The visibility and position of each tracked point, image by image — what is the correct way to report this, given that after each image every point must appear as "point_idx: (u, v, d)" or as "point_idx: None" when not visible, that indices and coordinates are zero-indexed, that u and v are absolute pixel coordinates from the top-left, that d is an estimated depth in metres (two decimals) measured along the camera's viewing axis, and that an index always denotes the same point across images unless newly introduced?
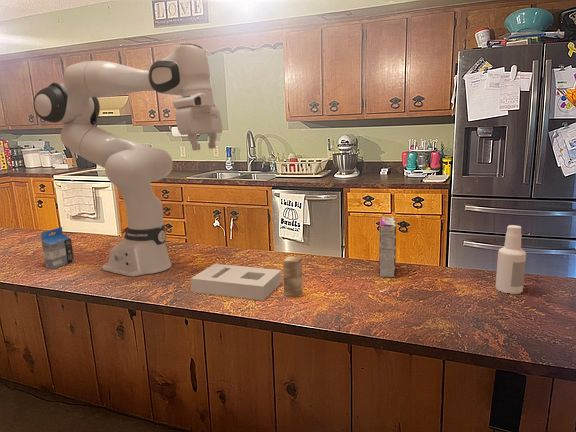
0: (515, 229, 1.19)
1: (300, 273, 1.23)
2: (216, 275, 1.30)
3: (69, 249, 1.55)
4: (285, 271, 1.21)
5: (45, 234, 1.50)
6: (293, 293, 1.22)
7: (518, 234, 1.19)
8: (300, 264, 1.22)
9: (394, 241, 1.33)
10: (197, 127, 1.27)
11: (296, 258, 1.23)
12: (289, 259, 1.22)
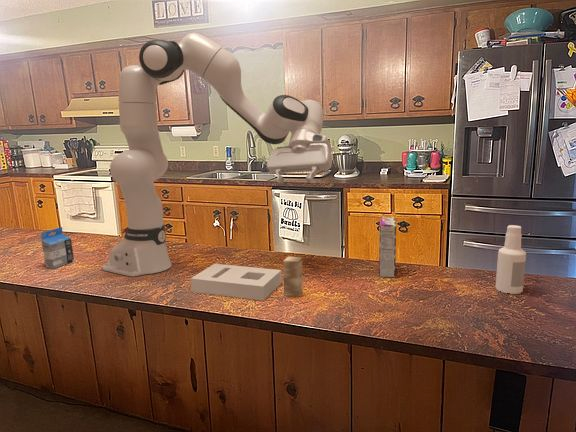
0: (515, 229, 1.19)
1: (300, 273, 1.23)
2: (216, 275, 1.30)
3: (69, 249, 1.55)
4: (285, 271, 1.21)
5: (45, 234, 1.50)
6: (293, 293, 1.22)
7: (518, 234, 1.19)
8: (300, 264, 1.22)
9: (394, 241, 1.33)
10: None
11: (296, 258, 1.23)
12: (289, 259, 1.22)
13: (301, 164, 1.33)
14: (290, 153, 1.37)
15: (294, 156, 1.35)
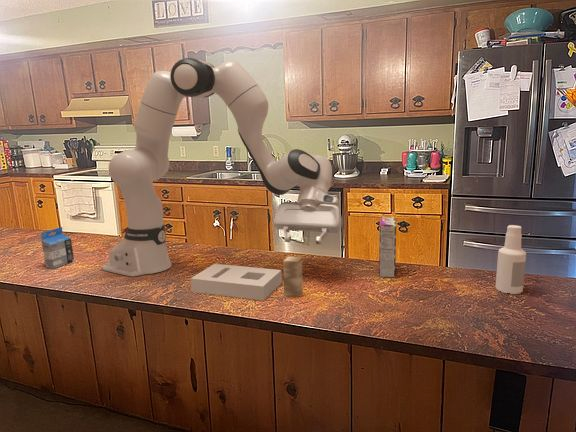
0: (515, 229, 1.19)
1: (300, 273, 1.23)
2: (216, 275, 1.30)
3: (69, 249, 1.55)
4: (285, 271, 1.21)
5: (45, 234, 1.50)
6: (293, 293, 1.22)
7: (518, 234, 1.19)
8: (300, 264, 1.22)
9: (394, 241, 1.33)
10: None
11: (296, 258, 1.23)
12: (289, 259, 1.22)
13: (311, 225, 1.30)
14: (298, 210, 1.34)
15: (303, 215, 1.33)
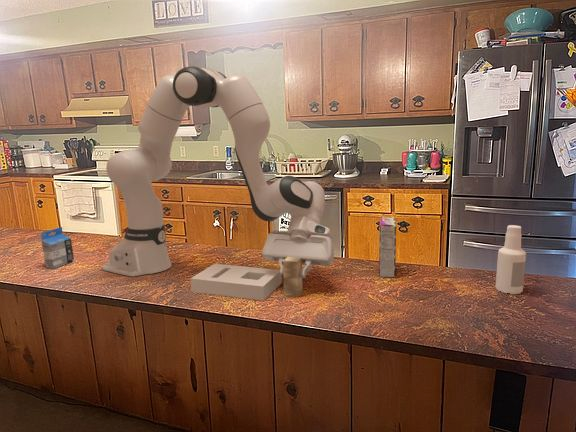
0: (515, 229, 1.19)
1: None
2: (216, 275, 1.30)
3: (69, 249, 1.55)
4: (285, 271, 1.21)
5: (45, 234, 1.50)
6: (293, 293, 1.22)
7: (518, 234, 1.19)
8: (300, 264, 1.22)
9: (394, 241, 1.33)
10: None
11: (296, 258, 1.23)
12: (289, 259, 1.22)
13: (301, 257, 1.23)
14: (288, 241, 1.27)
15: (293, 246, 1.26)
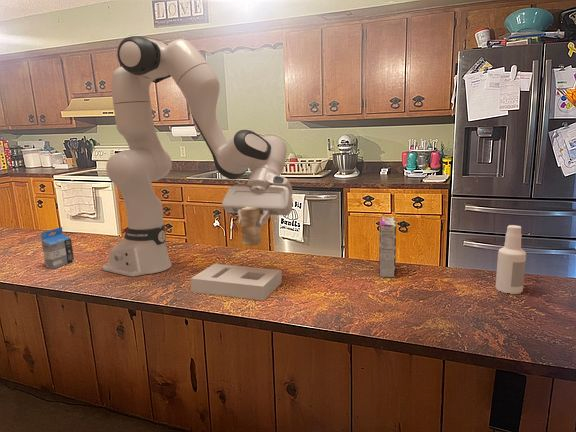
0: (515, 229, 1.19)
1: None
2: (216, 275, 1.30)
3: (69, 249, 1.55)
4: (243, 220, 1.23)
5: (45, 234, 1.50)
6: (251, 241, 1.23)
7: (518, 234, 1.19)
8: (258, 213, 1.24)
9: (394, 241, 1.33)
10: None
11: (254, 207, 1.24)
12: (247, 208, 1.23)
13: None
14: (248, 192, 1.29)
15: (252, 197, 1.27)
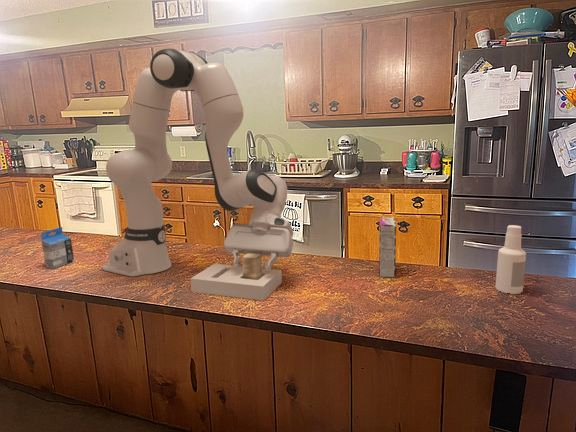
0: (515, 229, 1.19)
1: (259, 269, 1.27)
2: (216, 275, 1.30)
3: (69, 249, 1.55)
4: (244, 267, 1.25)
5: (45, 234, 1.50)
6: None
7: (518, 234, 1.19)
8: (259, 260, 1.26)
9: (394, 241, 1.33)
10: None
11: (255, 254, 1.27)
12: (249, 255, 1.26)
13: (260, 249, 1.27)
14: (249, 233, 1.31)
15: (253, 238, 1.29)
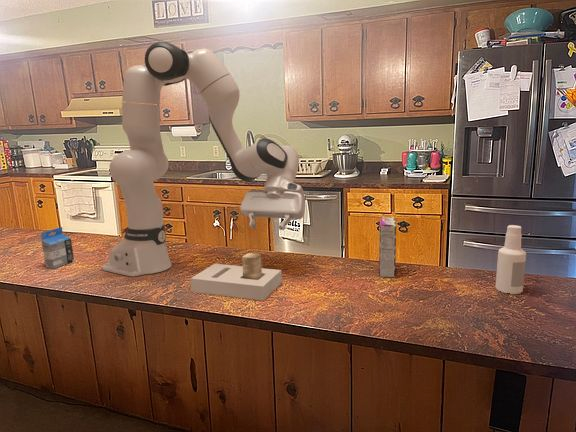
0: (515, 229, 1.19)
1: (259, 269, 1.27)
2: (216, 275, 1.30)
3: (69, 249, 1.55)
4: (244, 267, 1.25)
5: (45, 234, 1.50)
6: None
7: (518, 234, 1.19)
8: (259, 260, 1.26)
9: (394, 241, 1.33)
10: None
11: (255, 254, 1.27)
12: (248, 255, 1.26)
13: (274, 211, 1.36)
14: (264, 198, 1.40)
15: (268, 202, 1.38)
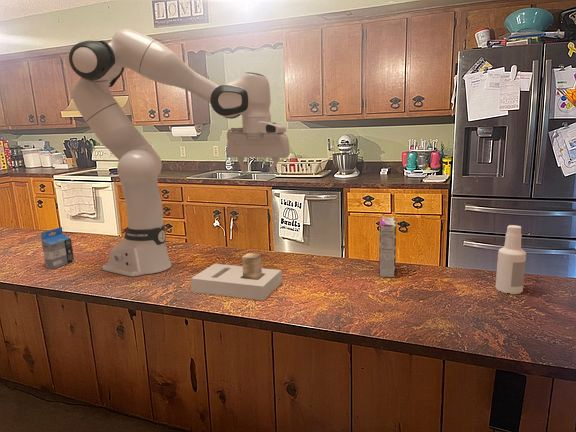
0: (515, 229, 1.19)
1: (259, 269, 1.27)
2: (216, 275, 1.30)
3: (69, 249, 1.55)
4: (244, 267, 1.25)
5: (45, 234, 1.50)
6: None
7: (518, 234, 1.19)
8: (259, 260, 1.26)
9: (394, 241, 1.33)
10: None
11: (255, 254, 1.27)
12: (248, 255, 1.26)
13: (261, 156, 1.39)
14: (246, 141, 1.40)
15: (252, 146, 1.39)
